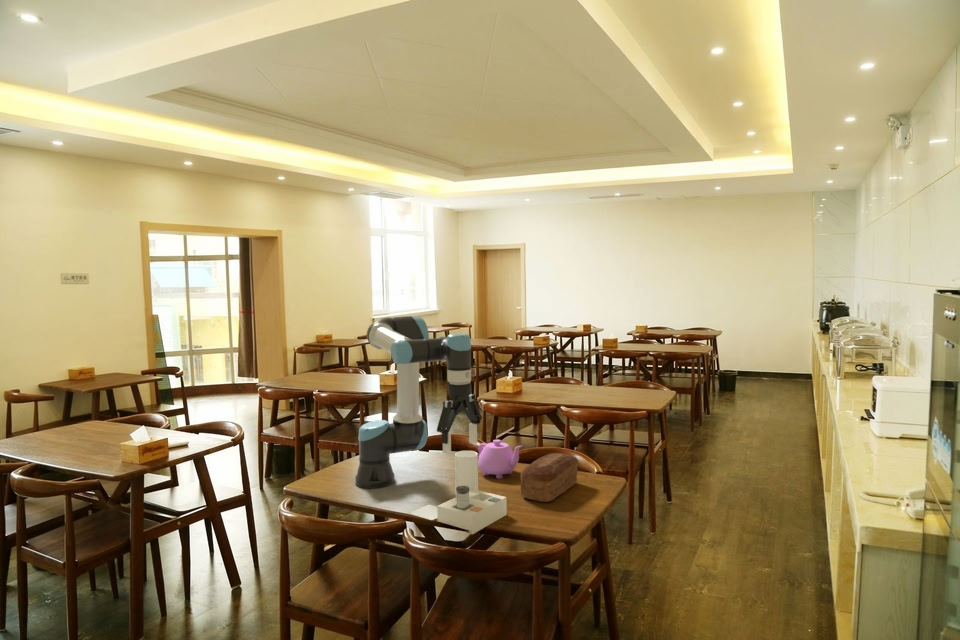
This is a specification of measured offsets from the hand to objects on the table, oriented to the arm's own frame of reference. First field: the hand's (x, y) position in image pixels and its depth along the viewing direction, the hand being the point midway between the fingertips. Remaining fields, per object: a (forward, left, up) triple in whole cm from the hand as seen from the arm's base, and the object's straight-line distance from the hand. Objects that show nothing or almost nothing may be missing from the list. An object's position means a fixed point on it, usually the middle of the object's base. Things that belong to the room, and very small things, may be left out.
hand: (460, 448), depth 195 cm
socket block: (+1, +5, -25) cm, 25 cm away
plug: (+1, 0, -25) cm, 25 cm away
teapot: (-18, +48, -25) cm, 57 cm away
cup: (-13, +20, -25) cm, 34 cm away
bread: (+9, +42, -25) cm, 50 cm away
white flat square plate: (-13, 0, -25) cm, 28 cm away
